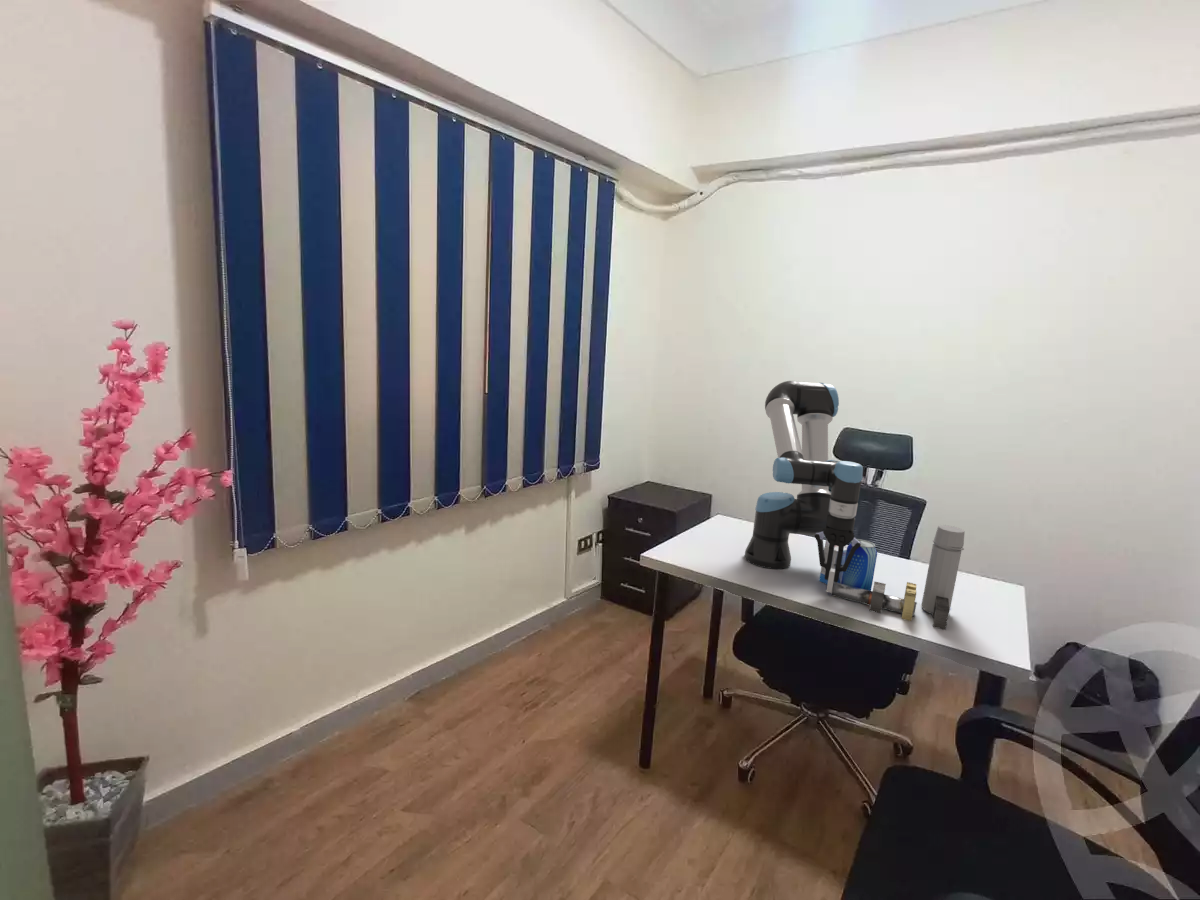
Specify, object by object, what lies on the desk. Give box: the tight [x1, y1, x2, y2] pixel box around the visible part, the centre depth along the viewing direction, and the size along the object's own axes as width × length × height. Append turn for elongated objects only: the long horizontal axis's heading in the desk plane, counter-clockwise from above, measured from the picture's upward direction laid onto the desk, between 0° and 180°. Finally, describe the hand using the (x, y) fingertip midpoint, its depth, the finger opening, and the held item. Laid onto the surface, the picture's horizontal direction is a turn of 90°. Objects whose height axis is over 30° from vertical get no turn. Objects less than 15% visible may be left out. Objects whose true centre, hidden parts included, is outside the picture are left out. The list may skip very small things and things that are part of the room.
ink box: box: [818, 538, 848, 585], centre depth 187 cm, size 8×5×15 cm, turn 124°
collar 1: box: [869, 581, 887, 614], centre depth 172 cm, size 3×8×6 cm, turn 152°
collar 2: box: [931, 596, 951, 631], centre depth 165 cm, size 3×8×6 cm, turn 152°
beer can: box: [841, 538, 878, 591], centre depth 180 cm, size 8×8×16 cm
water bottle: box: [921, 524, 965, 615], centre depth 170 cm, size 9×8×25 cm
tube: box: [830, 582, 917, 617], centre depth 173 cm, size 22×4×4 cm, turn 61°
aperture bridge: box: [901, 581, 917, 622], centre depth 168 cm, size 2×8×8 cm, turn 152°
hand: (829, 590), depth 178 cm, fingers closed
